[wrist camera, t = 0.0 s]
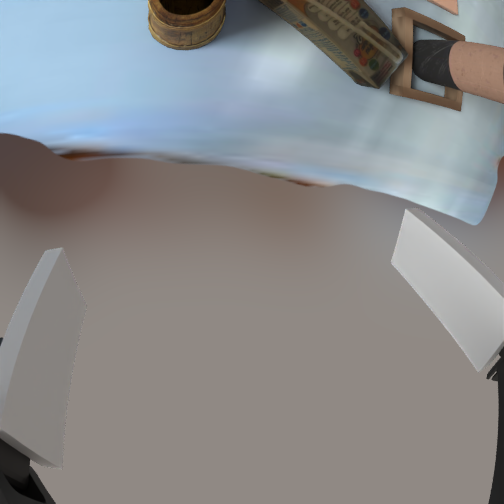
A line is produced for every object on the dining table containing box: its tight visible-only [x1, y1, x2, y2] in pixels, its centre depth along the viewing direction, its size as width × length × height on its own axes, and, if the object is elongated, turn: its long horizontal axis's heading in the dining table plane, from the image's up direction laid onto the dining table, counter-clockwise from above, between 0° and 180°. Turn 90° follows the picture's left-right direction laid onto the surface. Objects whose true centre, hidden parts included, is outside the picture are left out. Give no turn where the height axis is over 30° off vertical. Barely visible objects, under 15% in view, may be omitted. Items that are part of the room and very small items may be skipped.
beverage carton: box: [259, 0, 408, 89], centre depth 25 cm, size 8×19×7 cm, turn 52°
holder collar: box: [389, 7, 465, 111], centre depth 31 cm, size 14×14×3 cm
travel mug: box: [412, 40, 504, 104], centre depth 24 cm, size 8×8×20 cm
